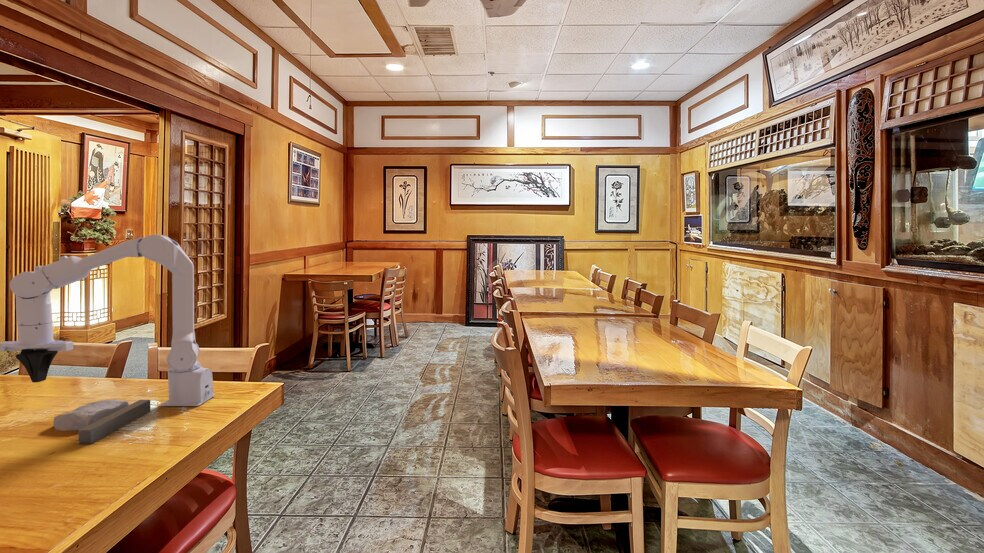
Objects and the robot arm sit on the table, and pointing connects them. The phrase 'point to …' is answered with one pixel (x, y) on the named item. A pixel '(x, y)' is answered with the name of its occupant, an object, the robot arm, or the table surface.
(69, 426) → the stone block
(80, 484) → the table surface
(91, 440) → the bar
